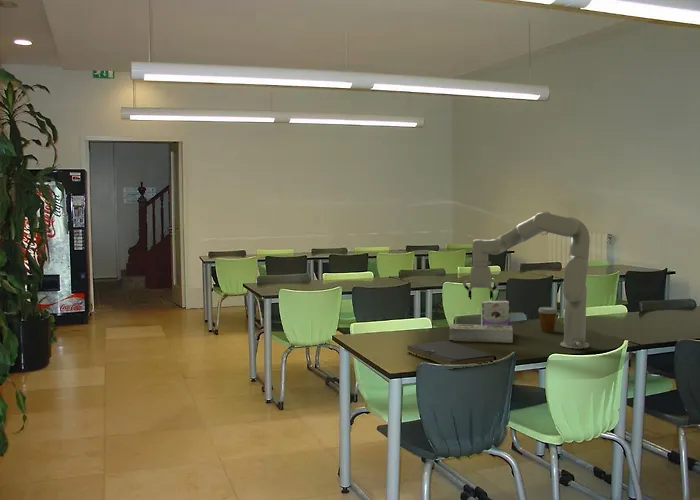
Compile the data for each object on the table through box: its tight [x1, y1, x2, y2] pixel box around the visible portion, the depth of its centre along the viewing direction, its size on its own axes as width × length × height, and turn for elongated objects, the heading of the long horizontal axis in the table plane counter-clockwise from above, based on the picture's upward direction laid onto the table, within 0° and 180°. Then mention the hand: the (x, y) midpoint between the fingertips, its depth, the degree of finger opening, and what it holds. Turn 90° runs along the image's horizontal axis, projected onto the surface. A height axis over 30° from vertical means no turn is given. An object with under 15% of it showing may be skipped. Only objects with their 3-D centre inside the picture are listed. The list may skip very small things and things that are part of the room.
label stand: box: [448, 323, 514, 344], centre depth 329 cm, size 30×12×6 cm, turn 79°
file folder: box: [406, 340, 497, 364], centre depth 294 cm, size 33×4×24 cm
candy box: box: [480, 300, 510, 326], centre depth 343 cm, size 14×6×16 cm, turn 86°
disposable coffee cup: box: [537, 306, 558, 333], centre depth 346 cm, size 10×10×12 cm
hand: (480, 299), depth 328 cm, fingers open, 9 cm apart
